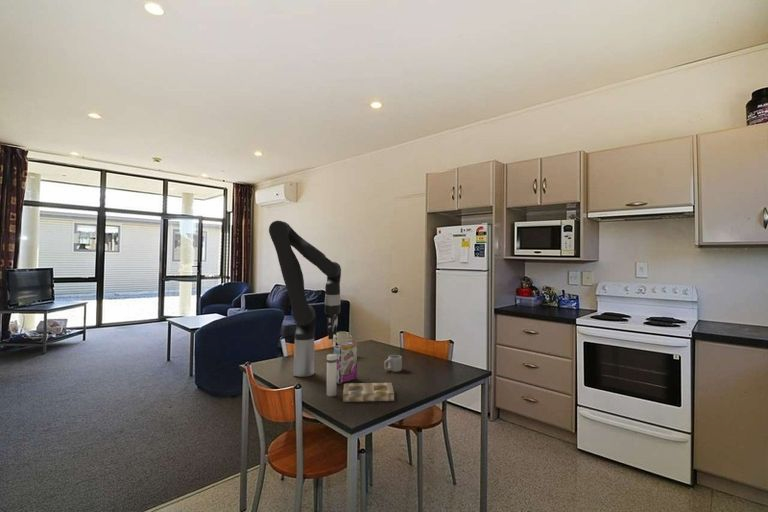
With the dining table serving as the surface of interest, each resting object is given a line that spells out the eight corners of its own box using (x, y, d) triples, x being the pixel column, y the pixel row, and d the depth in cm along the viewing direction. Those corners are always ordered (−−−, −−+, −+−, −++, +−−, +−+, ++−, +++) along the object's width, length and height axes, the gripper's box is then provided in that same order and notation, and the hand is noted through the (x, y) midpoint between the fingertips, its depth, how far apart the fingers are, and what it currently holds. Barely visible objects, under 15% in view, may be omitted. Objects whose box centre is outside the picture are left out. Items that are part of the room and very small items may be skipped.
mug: (396, 366, 188) (396, 354, 188) (404, 370, 182) (404, 356, 182) (380, 370, 182) (380, 357, 182) (388, 373, 176) (388, 360, 177)
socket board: (342, 401, 142) (342, 393, 142) (344, 390, 154) (344, 382, 154) (394, 400, 143) (394, 392, 143) (391, 389, 155) (391, 381, 155)
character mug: (350, 353, 214) (350, 331, 214) (353, 356, 208) (353, 333, 208) (332, 354, 211) (332, 332, 211) (334, 357, 204) (334, 334, 204)
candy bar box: (340, 384, 161) (340, 347, 161) (332, 382, 164) (332, 345, 164) (357, 378, 169) (357, 343, 169) (349, 376, 172) (350, 341, 173)
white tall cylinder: (326, 396, 147) (326, 356, 147) (326, 392, 151) (327, 354, 151) (336, 396, 147) (336, 356, 147) (336, 392, 151) (337, 354, 152)
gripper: (328, 301, 183) (328, 333, 184) (321, 305, 169) (321, 340, 169) (342, 301, 183) (342, 333, 183) (337, 306, 168) (337, 340, 169)
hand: (332, 336), depth 176 cm, fingers open, 8 cm apart
